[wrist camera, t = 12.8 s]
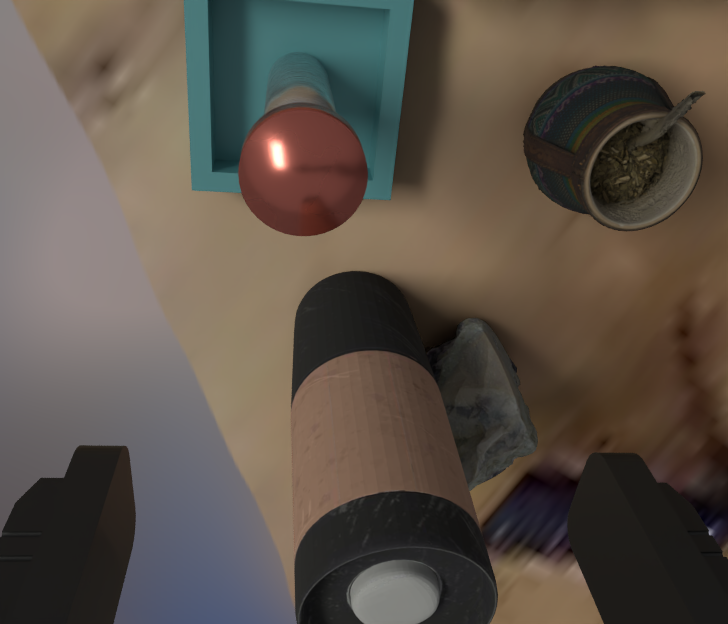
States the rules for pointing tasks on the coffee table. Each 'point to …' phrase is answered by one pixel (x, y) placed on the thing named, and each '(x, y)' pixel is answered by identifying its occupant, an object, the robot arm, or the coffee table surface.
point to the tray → (275, 39)
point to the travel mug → (377, 470)
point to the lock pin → (302, 154)
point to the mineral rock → (482, 401)
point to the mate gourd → (613, 147)
